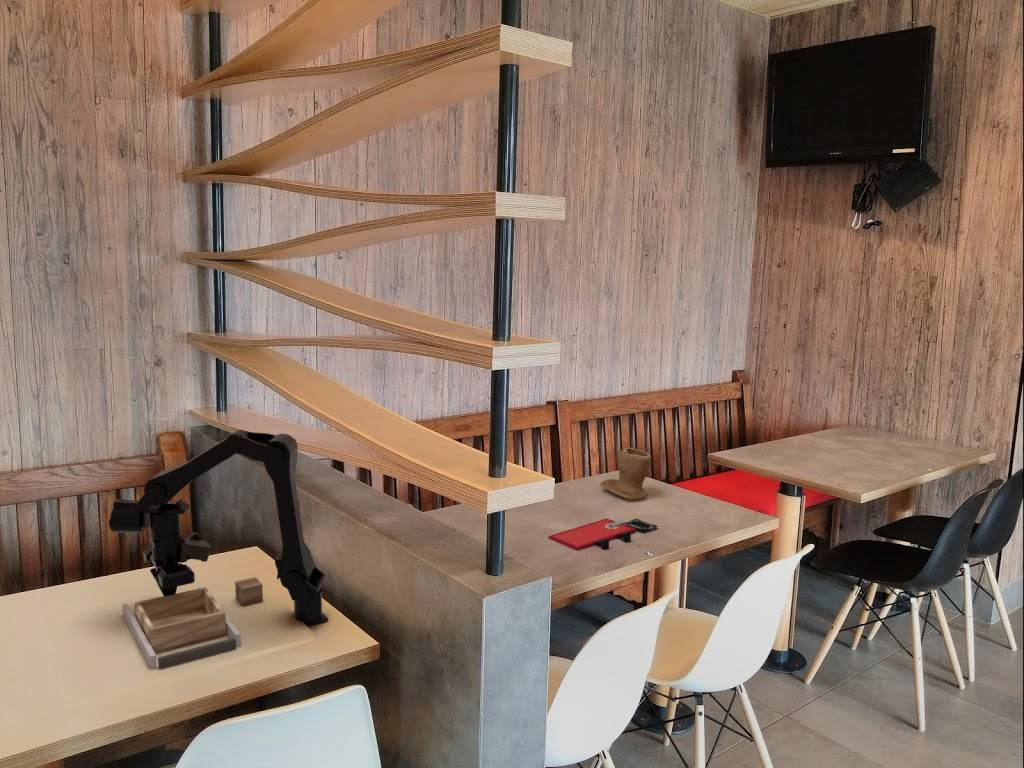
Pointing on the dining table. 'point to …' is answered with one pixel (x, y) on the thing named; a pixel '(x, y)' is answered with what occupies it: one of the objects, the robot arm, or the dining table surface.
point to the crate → (180, 619)
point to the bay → (186, 654)
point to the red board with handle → (600, 533)
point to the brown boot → (630, 474)
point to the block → (249, 591)
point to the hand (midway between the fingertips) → (170, 603)
